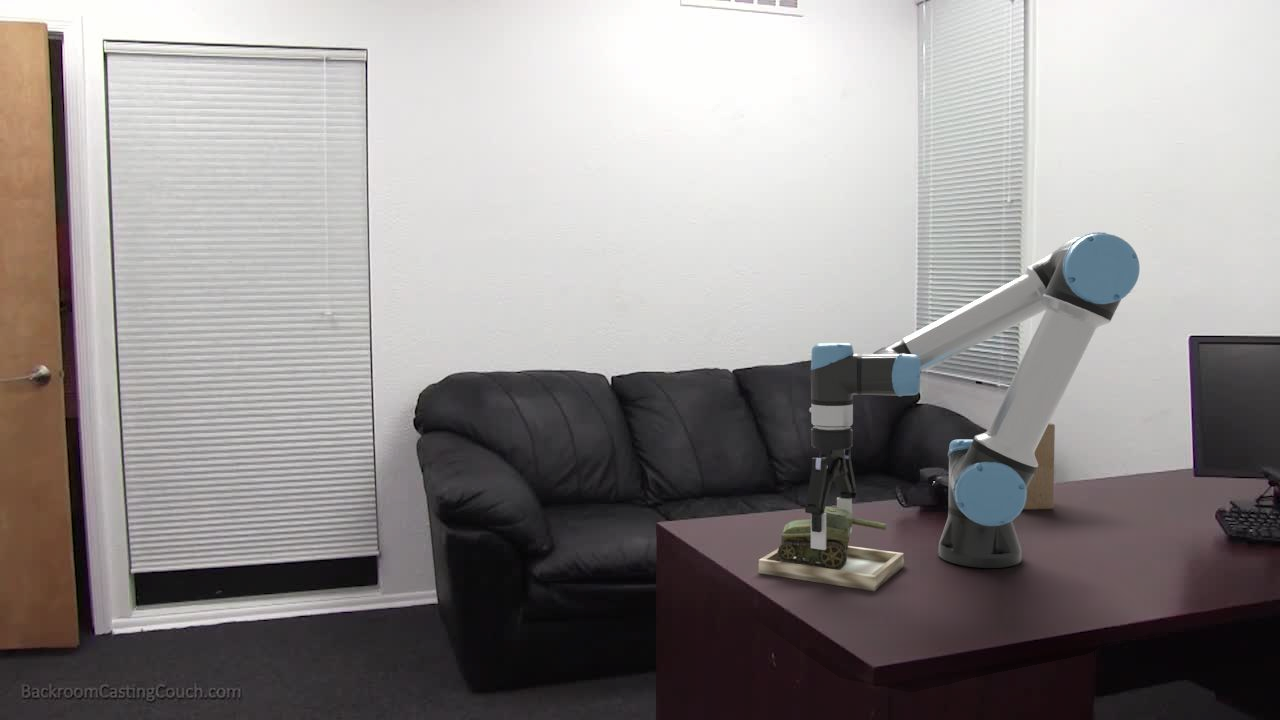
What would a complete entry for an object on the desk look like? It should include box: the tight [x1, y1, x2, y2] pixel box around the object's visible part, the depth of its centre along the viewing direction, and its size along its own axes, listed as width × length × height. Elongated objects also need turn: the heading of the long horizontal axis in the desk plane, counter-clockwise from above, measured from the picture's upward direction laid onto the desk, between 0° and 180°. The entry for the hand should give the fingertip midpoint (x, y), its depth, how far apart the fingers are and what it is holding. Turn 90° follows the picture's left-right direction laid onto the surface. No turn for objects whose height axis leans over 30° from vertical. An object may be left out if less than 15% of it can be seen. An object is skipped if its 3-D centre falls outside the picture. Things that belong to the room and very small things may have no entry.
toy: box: [777, 506, 887, 570], centre depth 184 cm, size 10×18×10 cm, turn 77°
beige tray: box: [758, 545, 905, 592], centre depth 185 cm, size 22×17×2 cm
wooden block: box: [1022, 422, 1056, 511], centre depth 233 cm, size 10×10×20 cm
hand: (831, 540), depth 184 cm, fingers open, 13 cm apart
